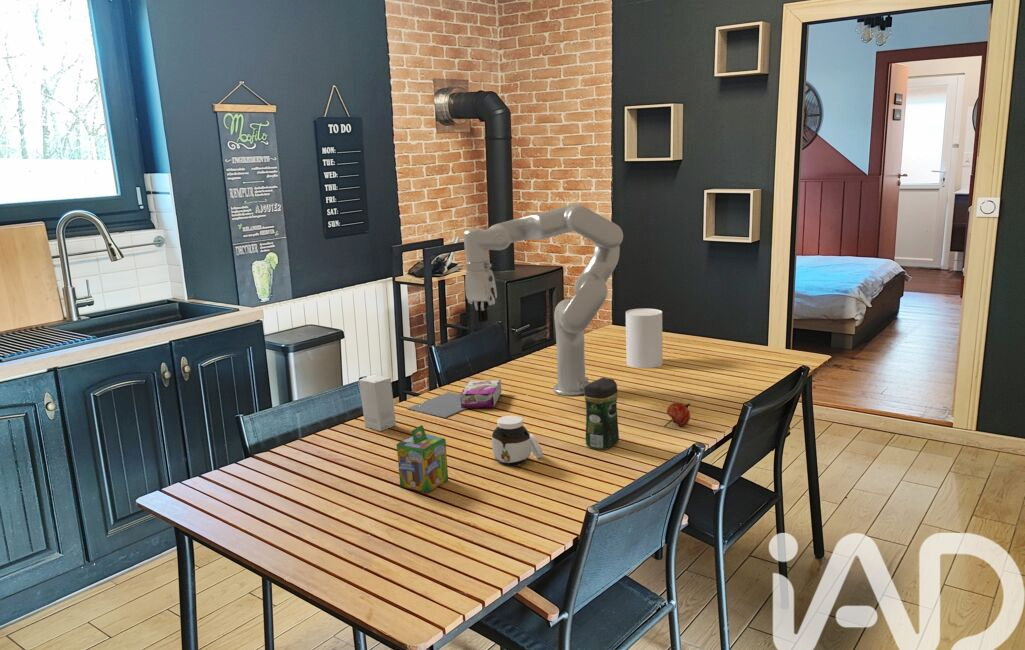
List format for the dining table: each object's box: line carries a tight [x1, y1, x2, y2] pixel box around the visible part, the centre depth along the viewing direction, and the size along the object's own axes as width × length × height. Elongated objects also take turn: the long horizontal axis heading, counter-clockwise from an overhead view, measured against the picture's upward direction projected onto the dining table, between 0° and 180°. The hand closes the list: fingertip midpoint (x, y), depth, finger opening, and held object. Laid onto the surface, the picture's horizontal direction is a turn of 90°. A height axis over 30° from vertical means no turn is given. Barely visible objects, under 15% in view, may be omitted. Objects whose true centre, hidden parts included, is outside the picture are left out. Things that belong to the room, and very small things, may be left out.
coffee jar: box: [583, 377, 620, 450], centre depth 213 cm, size 10×8×19 cm
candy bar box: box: [460, 378, 502, 409], centre depth 257 cm, size 11×5×16 cm
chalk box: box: [396, 424, 449, 494], centre depth 194 cm, size 9×9×15 cm
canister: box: [625, 307, 663, 369], centre depth 292 cm, size 14×14×20 cm
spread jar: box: [491, 415, 544, 467], centre depth 206 cm, size 12×11×12 cm
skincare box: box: [358, 374, 397, 432], centre depth 237 cm, size 8×7×16 cm
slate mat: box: [406, 391, 469, 419], centre depth 256 cm, size 17×20×1 cm
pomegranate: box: [663, 402, 691, 428], centre depth 226 cm, size 7×7×10 cm
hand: (483, 321), depth 256 cm, fingers closed
